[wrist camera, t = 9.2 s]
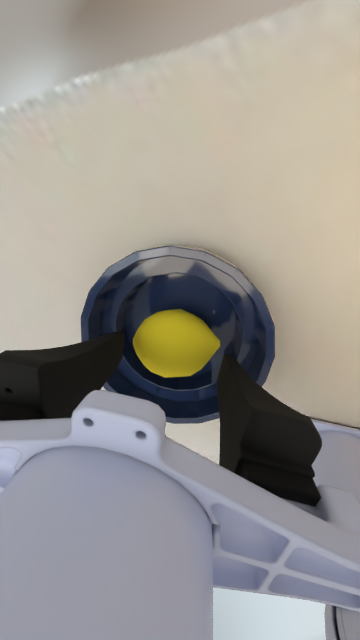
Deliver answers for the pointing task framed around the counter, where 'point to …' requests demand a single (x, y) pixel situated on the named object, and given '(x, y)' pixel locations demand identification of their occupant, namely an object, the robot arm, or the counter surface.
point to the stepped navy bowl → (189, 295)
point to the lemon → (174, 343)
